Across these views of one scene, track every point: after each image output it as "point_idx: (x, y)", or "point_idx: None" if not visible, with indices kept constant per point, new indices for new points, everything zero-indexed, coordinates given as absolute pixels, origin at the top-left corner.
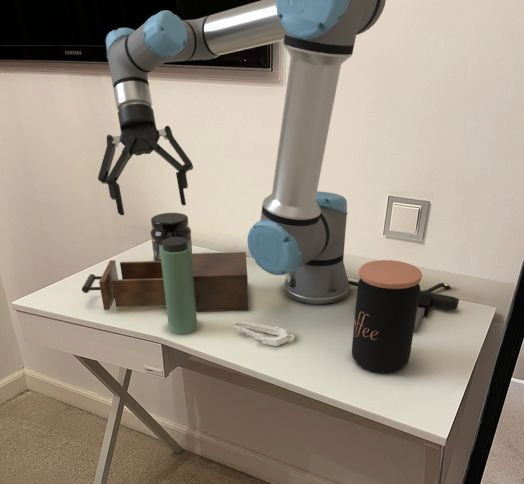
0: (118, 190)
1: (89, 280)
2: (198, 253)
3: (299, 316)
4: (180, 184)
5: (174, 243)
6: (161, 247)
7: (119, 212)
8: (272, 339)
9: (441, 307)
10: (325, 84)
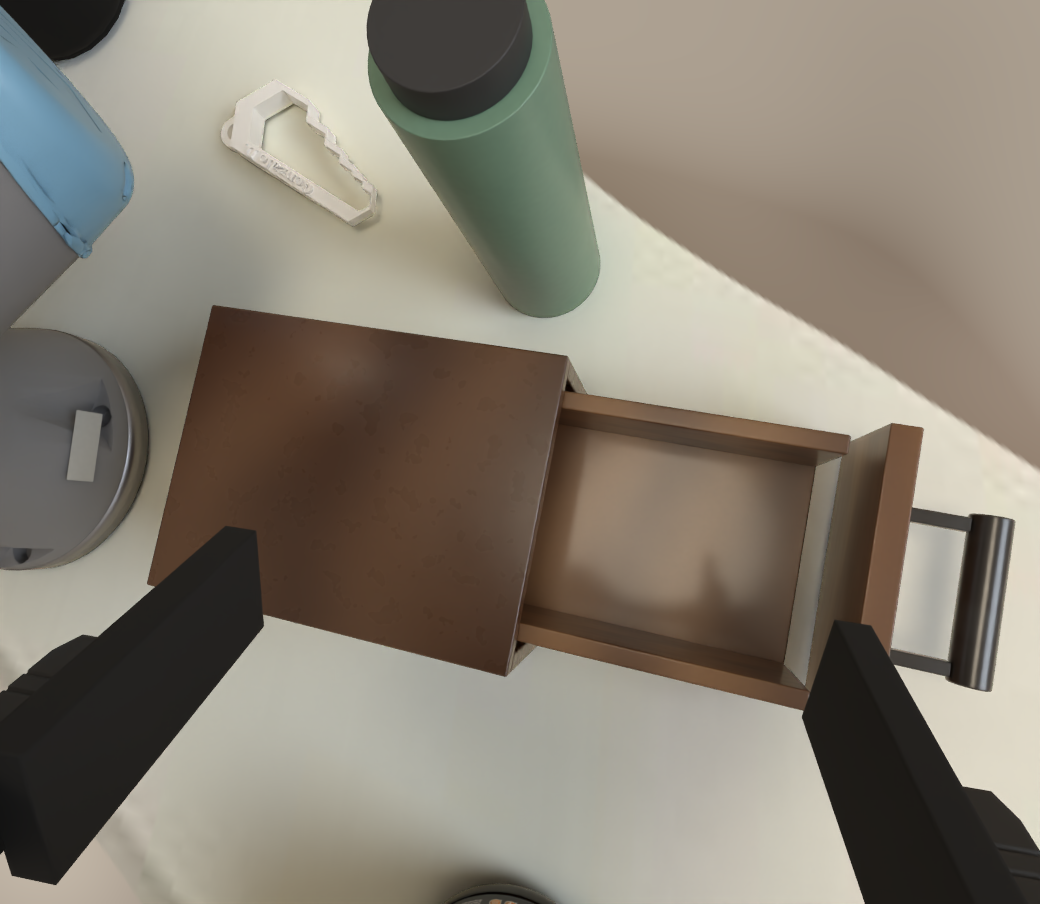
0: (915, 869)
1: (982, 597)
2: (363, 636)
3: (165, 274)
4: (118, 630)
5: None
6: (539, 66)
7: (856, 624)
8: (284, 85)
9: None
10: None
